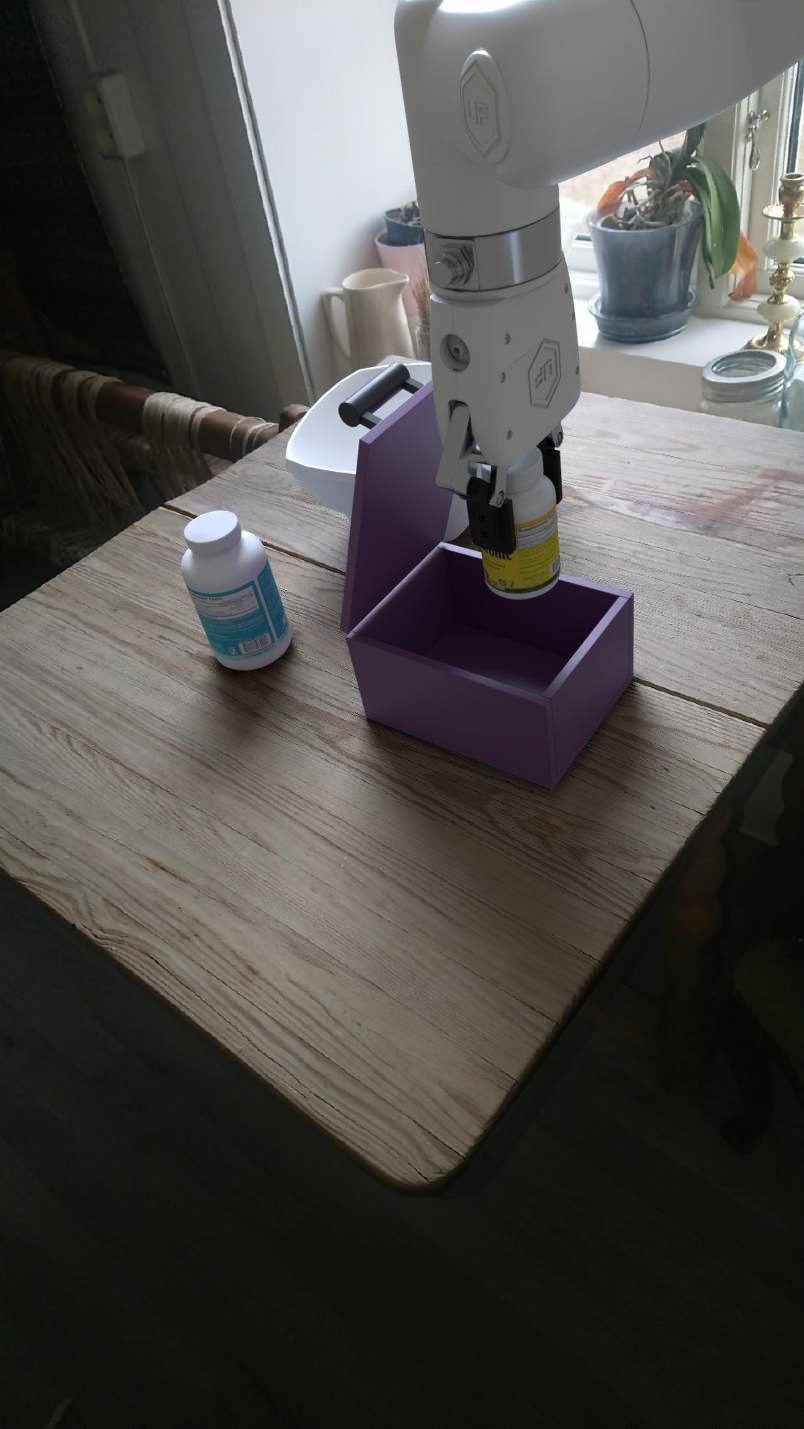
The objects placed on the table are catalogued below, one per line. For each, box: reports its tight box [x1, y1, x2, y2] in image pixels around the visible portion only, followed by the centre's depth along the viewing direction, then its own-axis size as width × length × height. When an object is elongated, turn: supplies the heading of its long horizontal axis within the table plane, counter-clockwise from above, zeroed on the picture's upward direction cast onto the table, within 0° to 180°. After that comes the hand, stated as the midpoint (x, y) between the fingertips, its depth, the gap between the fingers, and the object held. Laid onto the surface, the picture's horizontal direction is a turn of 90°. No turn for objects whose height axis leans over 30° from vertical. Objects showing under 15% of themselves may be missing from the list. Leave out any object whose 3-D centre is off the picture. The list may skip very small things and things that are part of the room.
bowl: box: [284, 362, 482, 543], centre depth 97 cm, size 22×22×12 cm
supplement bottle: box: [480, 447, 561, 599], centre depth 66 cm, size 5×5×10 cm
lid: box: [338, 361, 454, 636], centre depth 71 cm, size 18×14×5 cm
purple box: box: [345, 542, 635, 791], centre depth 77 cm, size 18×14×9 cm
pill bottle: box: [180, 510, 292, 671], centre depth 86 cm, size 8×7×14 cm
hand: (517, 521), depth 66 cm, fingers closed on supplement bottle, 5 cm apart
